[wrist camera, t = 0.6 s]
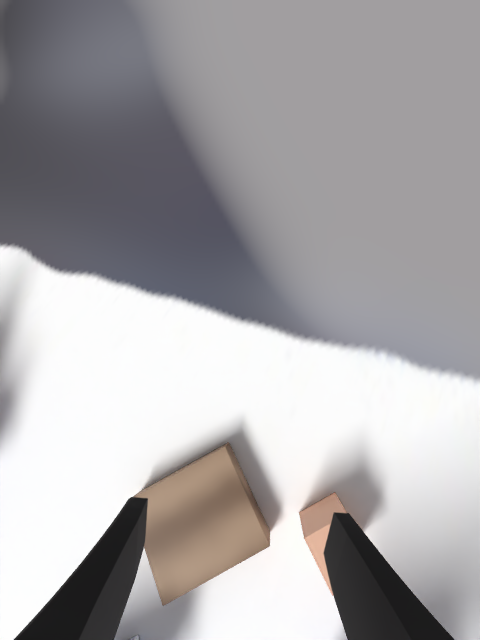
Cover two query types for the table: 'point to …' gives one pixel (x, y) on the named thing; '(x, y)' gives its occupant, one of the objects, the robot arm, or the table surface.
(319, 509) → the terracotta block
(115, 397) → the table surface
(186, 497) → the walnut block
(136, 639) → the medicine box
